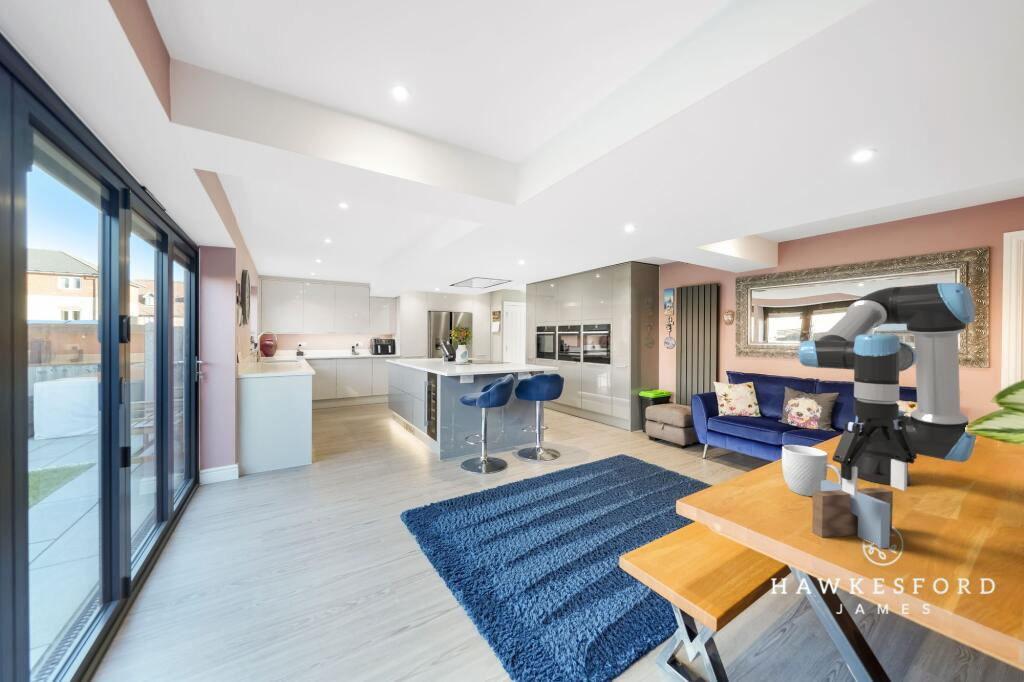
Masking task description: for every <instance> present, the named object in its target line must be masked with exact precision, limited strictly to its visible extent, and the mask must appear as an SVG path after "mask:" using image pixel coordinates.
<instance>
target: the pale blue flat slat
mask: <svg viewBox="0 0 1024 682" xmlns="http://www.w3.org/2000/svg"><path fill="white" fill-rule="evenodd" d="M838 483H839V482H836V481H832V480H829V479H826V480H823V481H821V491H834V490H841V491H842V485H840V484H838ZM846 493H847V492H846ZM850 513H852V514H854V515H856V516H858V534H857V538H859V537H860V538H859V539H861V538H862V539H861V540H863V539H865V540H867V541H870V542H872V543H874V544H875V545H877V546H878V547H879V548H878V547H877V548H878V549H890V504H888V503H886V502H883V501H881V500H878V499H876V498H873V497H871V496H868V495H866V494H863V493H860V492H858V491H857V495H855V496H854V495H852V494H851V497H850ZM865 540H864V541H865ZM867 541H866V542H867Z"/></svg>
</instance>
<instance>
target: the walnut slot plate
mask: <svg viewBox="0 0 1024 682" xmlns="http://www.w3.org/2000/svg"><path fill="white" fill-rule="evenodd" d="M857 491H858V492H860V493H863V494H866V495H868V496H871V497H873V498H876V499H878V500H881V501H883V502H886V503H888V504H890V531H891V532H893V503H894V502H893V498H894V496H893V494H894V491H893V490H890V489H888V488H885V487H882V486H881V487H867V488H857ZM850 497H851V494H849V493H846V492H844V491H841V490H834V491H818V492H813V496H812V524H811V525H812V530H811V532H812V533H813V534H815V535H816V536H818V537H820V538H832V537H833V538H834V537H843V536H845V535H846V536H856V534H857V535H858V516H856V515H854V514H852V513H850Z"/></svg>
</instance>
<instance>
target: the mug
mask: <svg viewBox="0 0 1024 682" xmlns="http://www.w3.org/2000/svg"><path fill="white" fill-rule="evenodd" d="M781 448H782V450H781V467H782V468H781V469H782V475H783V478H784V481H785V484H786V485H787V487H788V488H789V490H790V491H792V493H795V494H797V495H801V496H803V497H805V496H806V497H813V492H818V491H821V481H823V480H827V475H828V468H829V469H831V470H833V471H834V472H835V473H836V476H837V478H838V482H837V483H838V484H840V485H842V477H841V469H839V468H838V467H836V465H833V464H832V463H828V452H826V451H825V450H822V449H819V448H815V447H811V446H806V445H797V444H786V445H783V446H782V447H781Z"/></svg>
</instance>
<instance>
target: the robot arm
mask: <svg viewBox="0 0 1024 682" xmlns="http://www.w3.org/2000/svg"><path fill="white" fill-rule="evenodd" d="M975 309H976V308H975V303H974V299H973V296H972V293H971V290H970V288H969V287H968V286H967V285H966V284H964V283H961V282H938V283H935V282H934V283H926V284H916V285H904V286H890V287H886V288H882V289H879V290H878V289H877V290H875V291H873V292H871V293H868V294H865V295H863V296H861V297H860V298H858V299H857V300H855V301H854V302H853V303H851V304H850V305H849V306H848V308H847V309H846V312H845V315H844V316H842V318H840V319H839V320H838V322H836V324H834V325H833V326H832V327H831V328H830V329H829V330H828V331H826V333H825V334H824V335H823V336H822V337H820V338H819V339H818V340H814V339H811V340H804V341H802V342H801V343H800V344H799V346H798V349H797V350H798V351H797V354H798V360H799V363H800V364H801V365H802V366H804V367H809V368H810V367H811V368H816V369H819V368H820V369H835V370H836V369H837V370H852V371H853V382H854V385H853V397H854V398H855V399H854V400H853V414H854V416H855V421H854V422H852V421H847V420H846V421H844V428H843V432H842V435H841V437H840V439H839V442H838V444H837V446H836V449H835V451H834V453H833V456H832V461H833V462H836V463H838V464H840V471H841V477H842V491H844V492H847V493H849V494H852V495H854V496H855V495H857V489H858V478H859V479H862V480H865V481H868V482H872V483H877V484H882V485H883V484H884V485H888V486H890V487H892V488H895V489H898V490H900V491H903V492H906V491H908V490H907V489H908V485H910V483H911V477H910V474H909V469H908V468H909V464H912V465H913V464H915V460H916V459H917V458H918V455H920V456H925V457H931V458H933V459H939V460H943V461H952V462H957V463H964V462H967V461H969V460H970V458H971V456H972V453H973V451H974V448H975V445H976V440H977V436H976V435H973V434H970V433H967V432H965V427H966V425H968V424H970V423H969V417H968V416H967V415H965V414H964V413H962V412H961V402H960V401H961V397H960V396H961V395H960V394H961V393H960V364H959V361H960V360H959V358H960V357H959V334H960V333H962V332H964V331H965V330H967V324H968V325H969V324H971V323H973V322H974V321H975V318H976V315H975V314H976V313H975ZM882 325H906V332H908V333H910V334H911V335H913V337H914V338H913V339H914V348H913V347H912V346H911V345H909V344H908V343H906V342H902V341H900V337H899V335H898V334H884V333H883V334H882V333H881V334H878V333H876V334H871V333H870V332H871V331H872V330H873V329H875V328H878V327H881V326H882ZM869 333H870V334H869ZM914 364H915V380H916V381H915V383H916V403H917V405H916V406H917V408H916V409H915V410H913V411H911V412H910V416H908V415H905V413H904V411H903V410H900V405H899V404H898V401H900V372H904V371H906V370H908V369H909V368H911V367H912V366H913V365H914Z"/></svg>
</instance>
